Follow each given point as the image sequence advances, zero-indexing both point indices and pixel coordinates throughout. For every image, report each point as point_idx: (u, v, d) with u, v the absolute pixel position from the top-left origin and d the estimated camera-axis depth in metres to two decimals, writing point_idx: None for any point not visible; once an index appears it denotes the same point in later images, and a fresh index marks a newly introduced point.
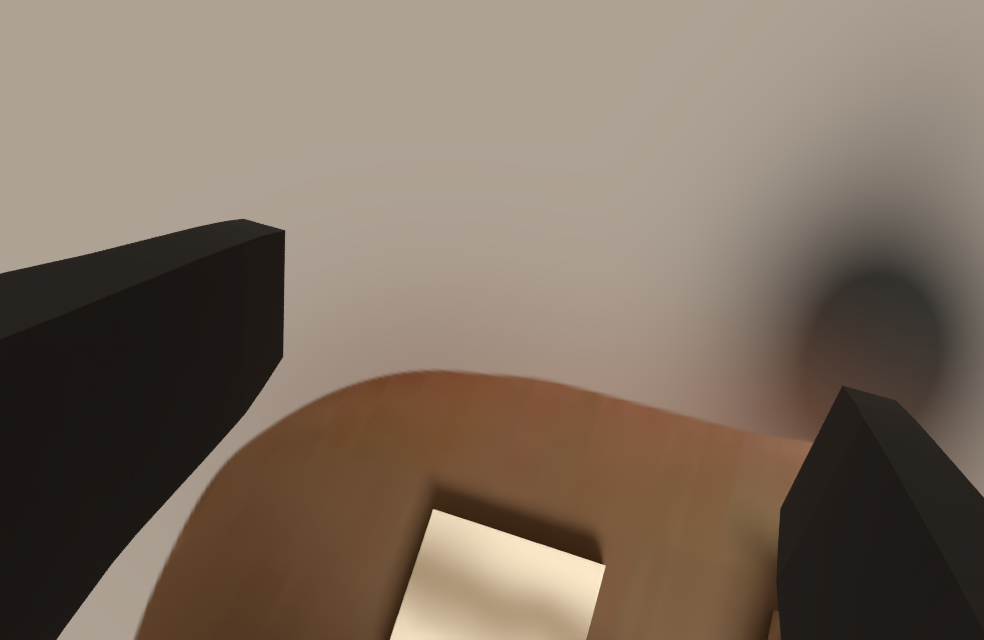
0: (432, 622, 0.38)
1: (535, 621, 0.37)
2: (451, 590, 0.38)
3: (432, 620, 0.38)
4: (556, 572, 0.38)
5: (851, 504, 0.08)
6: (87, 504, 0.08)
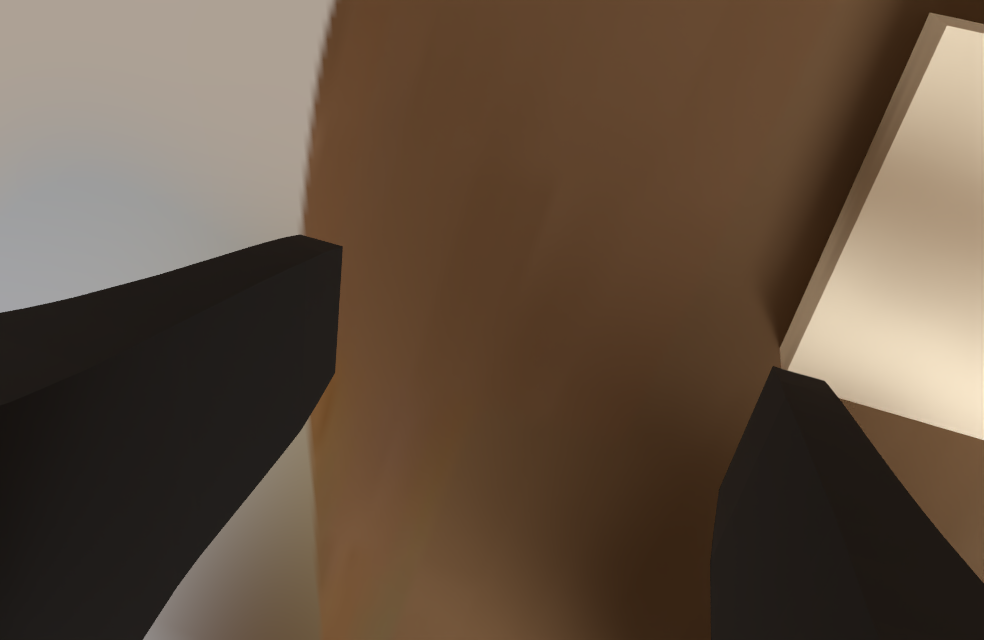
0: (915, 296, 0.16)
1: None
2: (977, 230, 0.15)
3: (915, 291, 0.16)
4: None
5: (772, 480, 0.08)
6: (158, 528, 0.08)
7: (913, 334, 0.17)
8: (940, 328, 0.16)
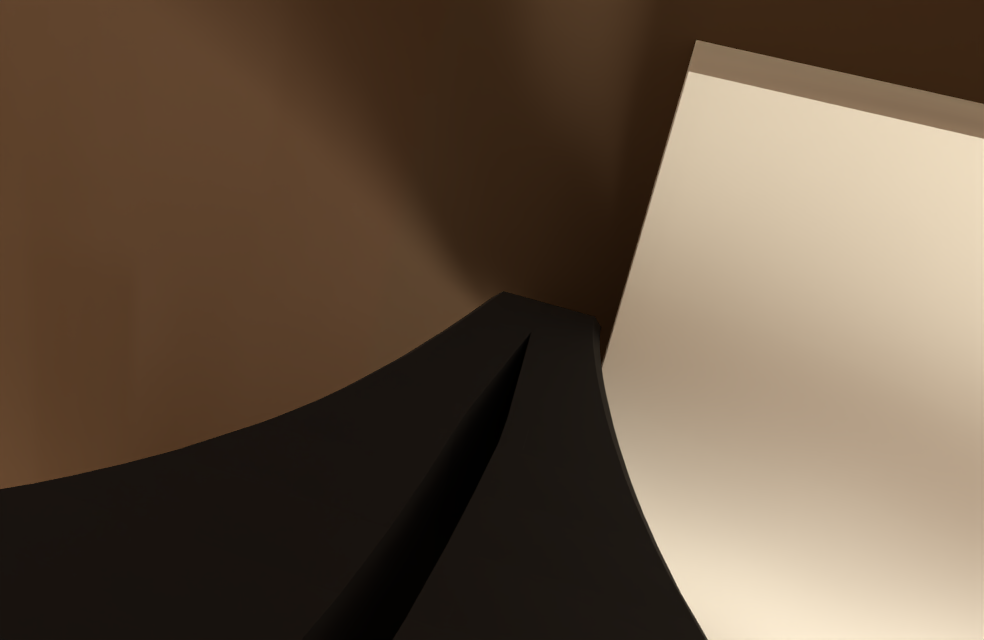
0: (705, 513, 0.10)
1: None
2: (790, 421, 0.09)
3: (703, 507, 0.10)
4: None
5: None
6: None
7: (711, 567, 0.10)
8: (751, 563, 0.10)
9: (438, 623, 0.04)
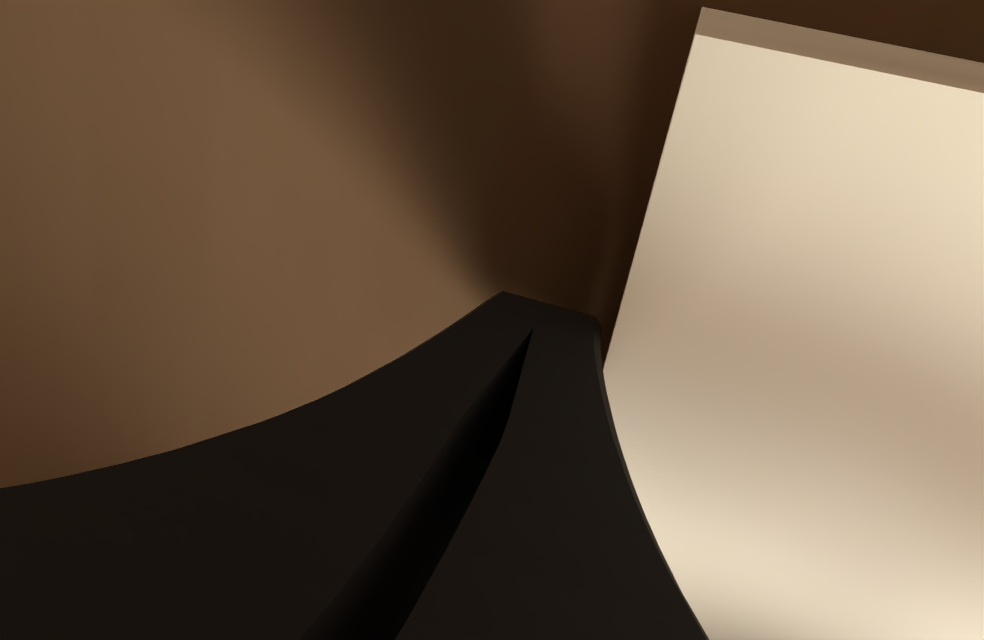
0: (716, 493, 0.09)
1: None
2: (802, 396, 0.09)
3: (714, 486, 0.09)
4: None
5: None
6: None
7: (723, 548, 0.10)
8: (764, 543, 0.10)
9: (440, 625, 0.04)
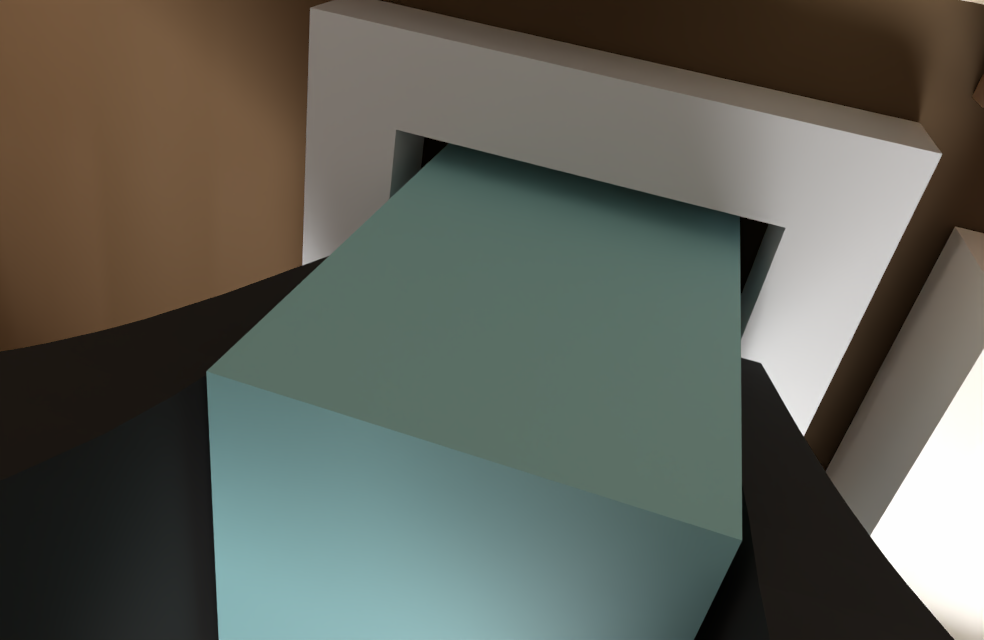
0: None
1: None
2: None
3: None
4: None
5: None
6: None
7: None
8: None
9: None
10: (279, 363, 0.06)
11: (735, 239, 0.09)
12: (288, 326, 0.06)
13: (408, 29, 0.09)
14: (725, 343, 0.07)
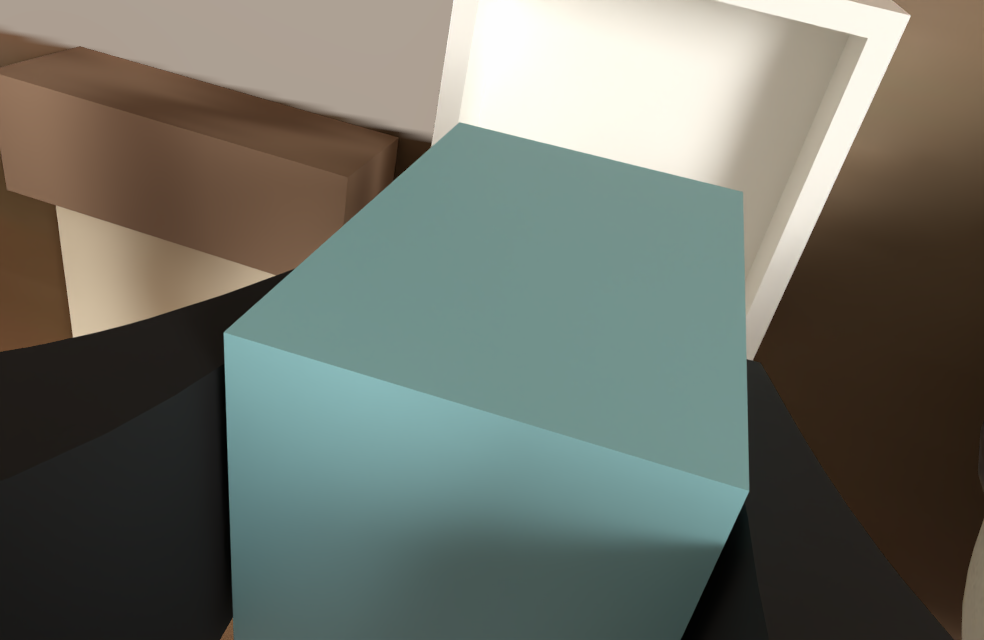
0: None
1: (172, 293, 0.22)
2: None
3: None
4: (93, 259, 0.22)
5: None
6: (224, 552, 0.08)
7: None
8: None
9: None
10: (294, 325, 0.06)
11: (739, 216, 0.10)
12: (302, 292, 0.07)
13: None
14: (730, 312, 0.07)
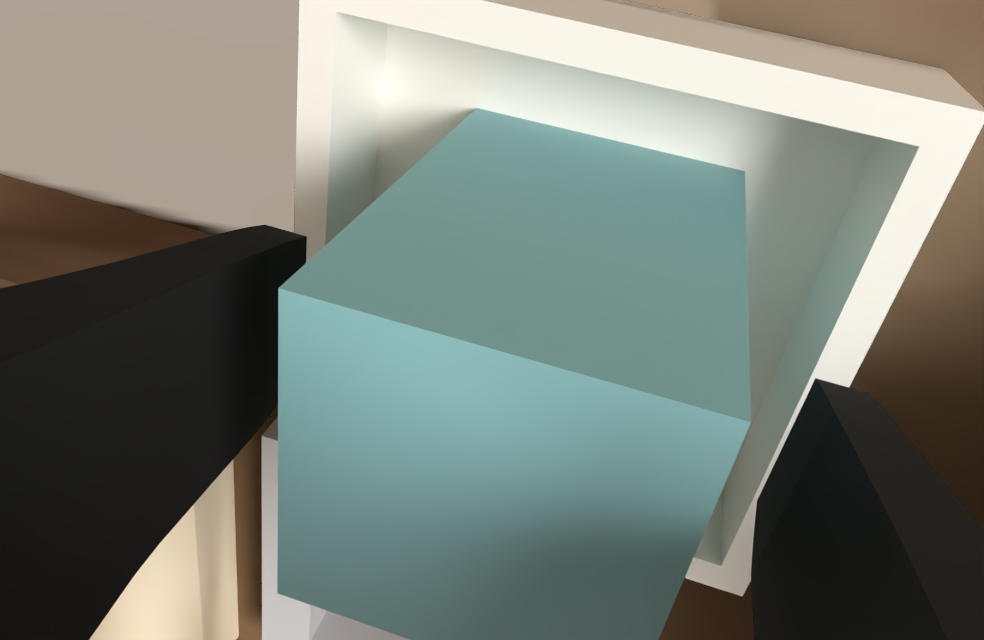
0: None
1: None
2: None
3: None
4: None
5: (820, 495, 0.08)
6: (114, 513, 0.08)
7: (127, 607, 0.19)
8: None
9: None
10: (340, 283, 0.07)
11: (742, 193, 0.10)
12: (345, 255, 0.07)
13: (264, 623, 0.18)
14: (733, 275, 0.08)
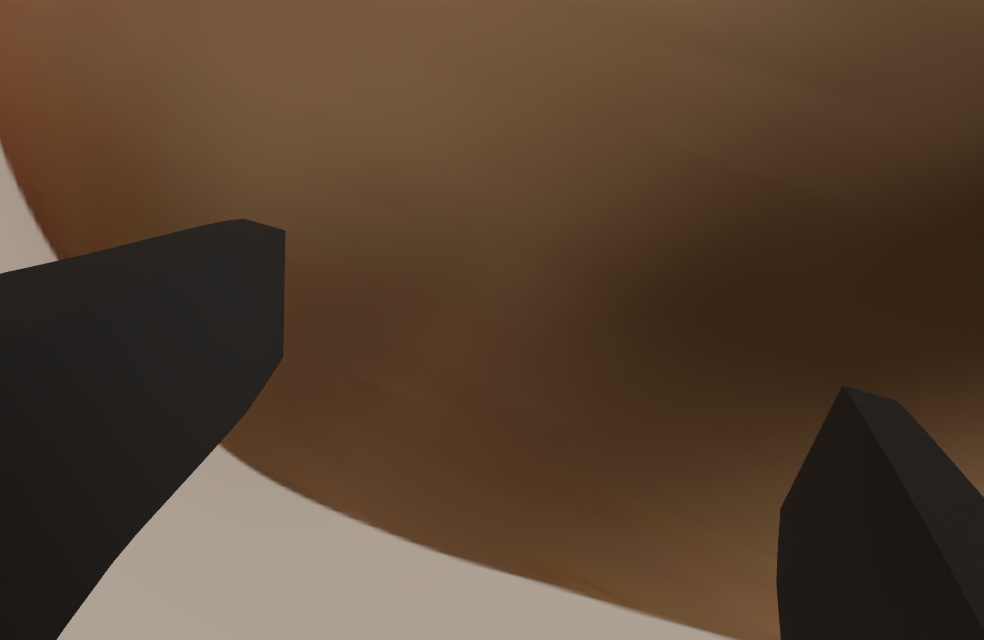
0: None
1: None
2: None
3: None
4: None
5: (851, 504, 0.08)
6: (87, 504, 0.08)
7: None
8: None
9: None
10: None
11: None
12: None
13: None
14: None
